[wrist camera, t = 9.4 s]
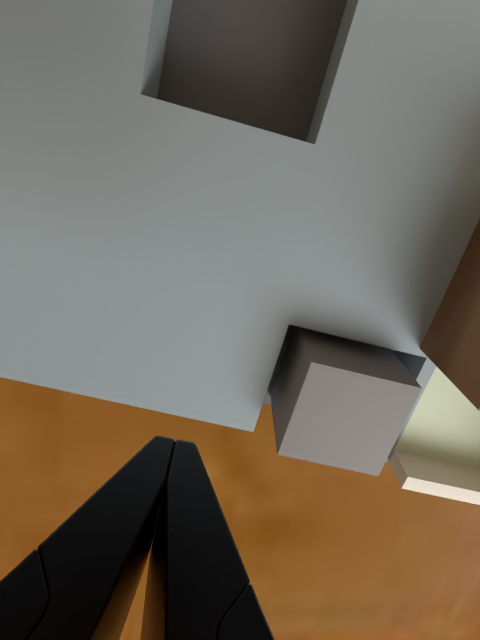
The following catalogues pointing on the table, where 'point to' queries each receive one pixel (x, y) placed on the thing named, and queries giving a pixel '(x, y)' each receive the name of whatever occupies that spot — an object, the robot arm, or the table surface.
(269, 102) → the deck
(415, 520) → the table surface
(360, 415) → the gray block
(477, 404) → the walnut block
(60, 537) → the robot arm
